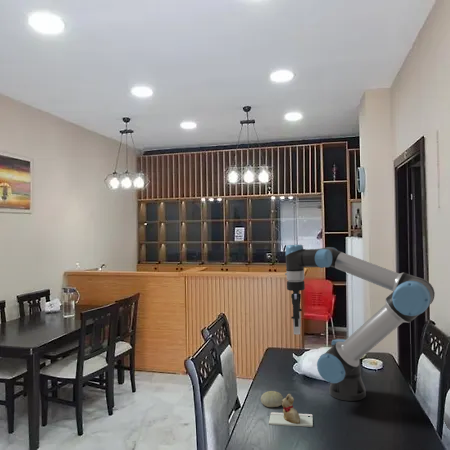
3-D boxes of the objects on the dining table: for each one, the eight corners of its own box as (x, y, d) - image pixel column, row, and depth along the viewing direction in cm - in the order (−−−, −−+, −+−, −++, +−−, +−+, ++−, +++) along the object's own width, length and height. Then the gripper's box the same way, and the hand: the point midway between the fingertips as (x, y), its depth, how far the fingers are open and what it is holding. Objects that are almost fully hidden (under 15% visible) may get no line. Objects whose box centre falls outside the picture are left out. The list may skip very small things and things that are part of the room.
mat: (312, 418, 158) (312, 416, 158) (312, 426, 151) (312, 425, 151) (270, 416, 161) (270, 414, 161) (268, 424, 154) (268, 422, 154)
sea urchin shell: (284, 404, 166) (269, 390, 168) (271, 417, 168) (256, 403, 169) (286, 395, 175) (272, 381, 177) (274, 408, 177) (260, 394, 178)
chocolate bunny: (295, 414, 160) (294, 388, 161) (301, 423, 153) (300, 396, 153) (281, 415, 160) (280, 389, 160) (287, 425, 152) (286, 397, 152)
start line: (312, 415, 160) (312, 414, 160) (312, 416, 159) (312, 416, 159) (271, 413, 164) (271, 412, 164) (270, 414, 162) (270, 413, 162)
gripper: (288, 277, 191) (289, 323, 191) (285, 284, 167) (287, 337, 166) (304, 277, 190) (306, 323, 189) (304, 284, 165) (306, 337, 165)
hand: (297, 330), depth 178 cm, fingers open, 13 cm apart
